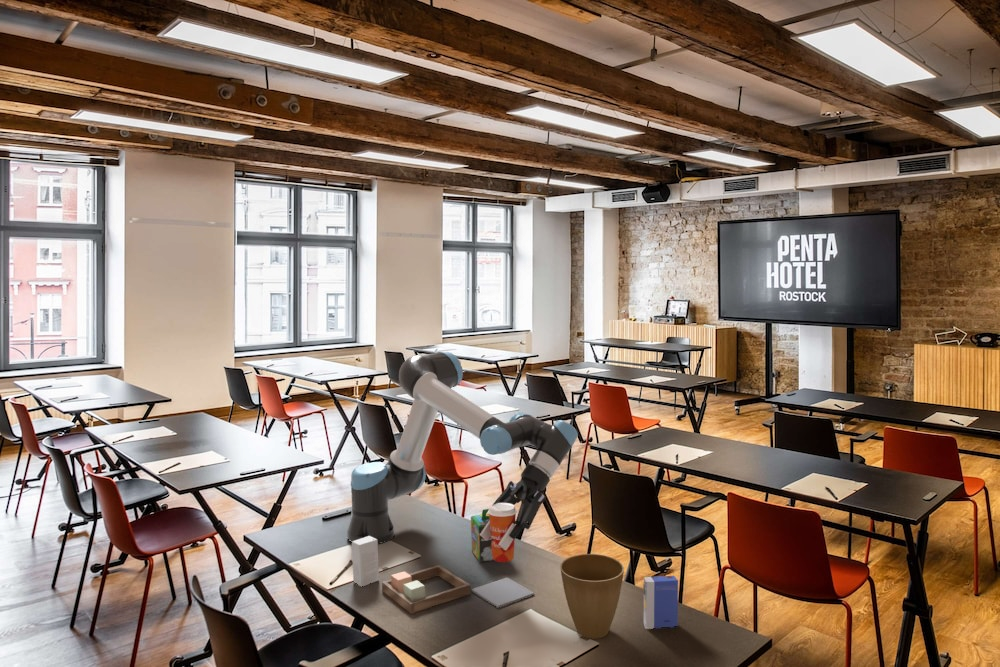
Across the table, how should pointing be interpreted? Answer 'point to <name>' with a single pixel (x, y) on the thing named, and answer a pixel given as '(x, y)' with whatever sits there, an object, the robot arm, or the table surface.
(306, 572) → the table surface
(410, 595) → the sage block
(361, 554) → the skincare box
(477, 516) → the chalk box
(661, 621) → the blue carton
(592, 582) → the plant pot
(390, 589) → the walnut frame
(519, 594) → the grey pad
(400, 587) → the terracotta block
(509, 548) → the paper cup
